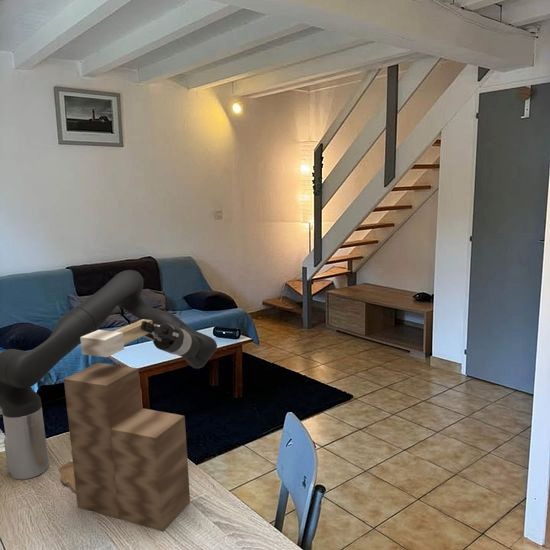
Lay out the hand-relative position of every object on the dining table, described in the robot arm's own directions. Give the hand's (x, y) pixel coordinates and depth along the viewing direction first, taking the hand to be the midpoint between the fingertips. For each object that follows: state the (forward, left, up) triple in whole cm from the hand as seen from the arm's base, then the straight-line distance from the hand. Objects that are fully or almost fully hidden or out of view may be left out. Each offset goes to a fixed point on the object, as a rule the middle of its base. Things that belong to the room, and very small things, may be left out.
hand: (136, 324), depth 130 cm
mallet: (0, -6, -3) cm, 6 cm away
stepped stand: (+6, -14, -40) cm, 43 cm away
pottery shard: (-16, -9, -41) cm, 45 cm away
